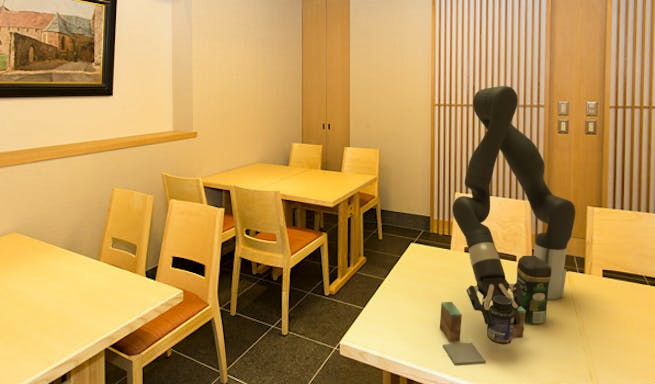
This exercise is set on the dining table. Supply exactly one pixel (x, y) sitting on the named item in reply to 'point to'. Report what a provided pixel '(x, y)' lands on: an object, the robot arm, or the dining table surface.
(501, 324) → the pill bottle
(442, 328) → the walnut channel
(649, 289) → the dining table surface
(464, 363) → the slate pad
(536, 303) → the coffee jar
